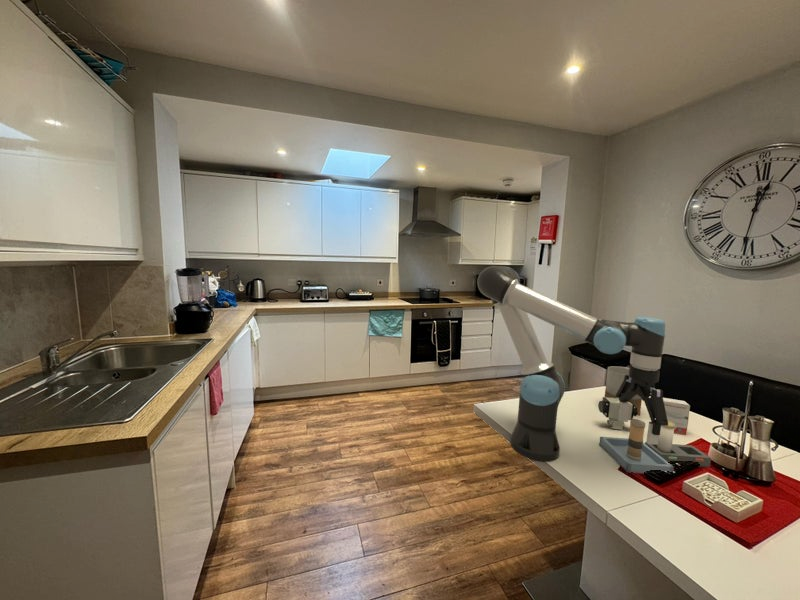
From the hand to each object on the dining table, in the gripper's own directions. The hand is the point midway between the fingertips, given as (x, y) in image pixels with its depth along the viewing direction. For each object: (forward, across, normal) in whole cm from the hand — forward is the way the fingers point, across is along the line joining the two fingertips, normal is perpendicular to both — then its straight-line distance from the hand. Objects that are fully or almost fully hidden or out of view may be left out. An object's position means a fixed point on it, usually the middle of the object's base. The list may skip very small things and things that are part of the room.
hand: (636, 431), depth 100 cm
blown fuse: (+9, 0, 0) cm, 9 cm away
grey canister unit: (+9, +37, -18) cm, 42 cm away
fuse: (+9, +2, -10) cm, 14 cm away
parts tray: (+9, 0, 0) cm, 9 cm away
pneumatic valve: (+9, +21, -6) cm, 24 cm away
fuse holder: (+9, +2, -14) cm, 17 cm away
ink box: (+9, +22, -28) cm, 36 cm away
